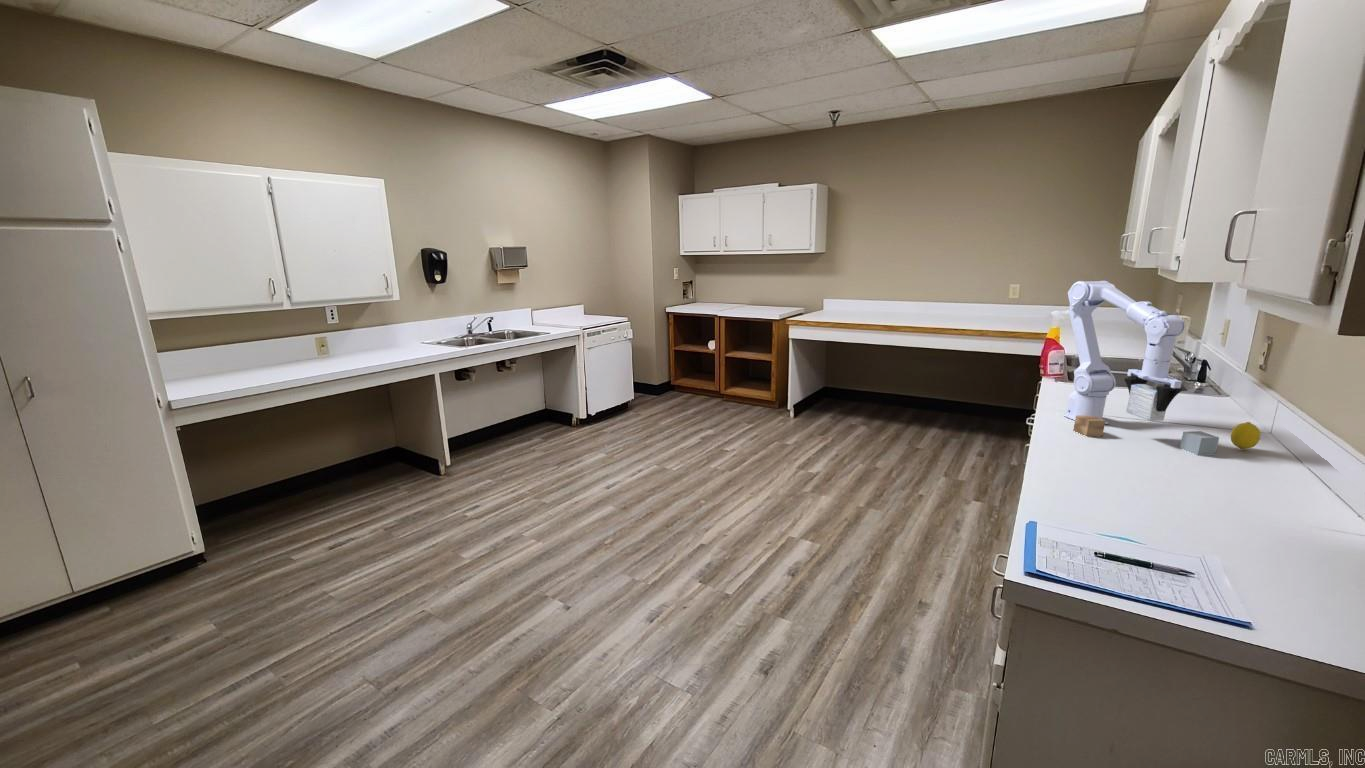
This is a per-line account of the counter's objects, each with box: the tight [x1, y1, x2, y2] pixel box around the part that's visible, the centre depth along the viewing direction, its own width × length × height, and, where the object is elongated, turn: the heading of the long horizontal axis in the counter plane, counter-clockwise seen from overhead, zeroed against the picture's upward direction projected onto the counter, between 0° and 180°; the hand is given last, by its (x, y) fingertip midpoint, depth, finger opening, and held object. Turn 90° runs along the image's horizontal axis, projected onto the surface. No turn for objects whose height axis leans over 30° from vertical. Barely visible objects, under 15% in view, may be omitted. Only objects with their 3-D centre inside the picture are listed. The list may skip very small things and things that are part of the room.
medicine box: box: [1125, 383, 1167, 422], centre depth 155 cm, size 8×4×9 cm, turn 3°
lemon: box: [1230, 421, 1261, 451], centre depth 148 cm, size 6×6×8 cm
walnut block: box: [1072, 415, 1106, 437], centre depth 162 cm, size 5×5×5 cm
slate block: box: [1179, 430, 1220, 456], centre depth 148 cm, size 5×5×5 cm
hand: (1147, 406), depth 155 cm, fingers closed on medicine box, 7 cm apart
